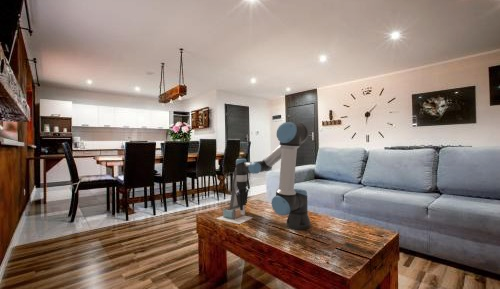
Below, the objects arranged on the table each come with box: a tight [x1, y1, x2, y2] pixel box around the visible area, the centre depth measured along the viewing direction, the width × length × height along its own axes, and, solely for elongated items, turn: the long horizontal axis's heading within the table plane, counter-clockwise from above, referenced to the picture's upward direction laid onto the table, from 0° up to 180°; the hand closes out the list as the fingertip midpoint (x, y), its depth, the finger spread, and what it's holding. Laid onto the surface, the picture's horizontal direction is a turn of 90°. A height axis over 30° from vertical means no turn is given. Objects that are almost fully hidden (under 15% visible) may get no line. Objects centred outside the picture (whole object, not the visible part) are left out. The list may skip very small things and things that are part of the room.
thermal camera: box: [227, 167, 240, 211], centre depth 186 cm, size 12×13×35 cm
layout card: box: [216, 215, 254, 225], centre depth 166 cm, size 21×16×1 cm
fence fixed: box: [222, 207, 235, 219], centre depth 167 cm, size 11×2×7 cm, turn 54°
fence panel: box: [235, 209, 242, 218], centre depth 169 cm, size 8×1×6 cm, turn 144°
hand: (242, 214), depth 165 cm, fingers closed
